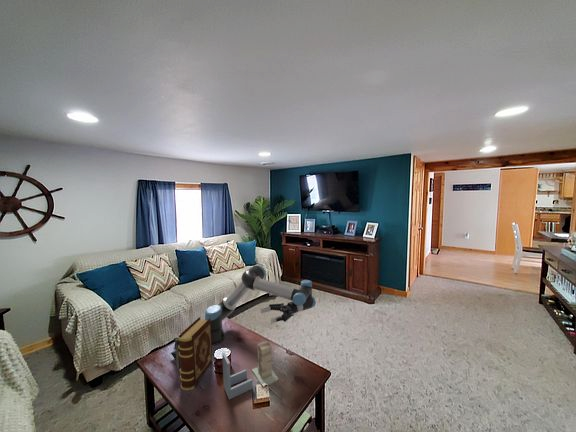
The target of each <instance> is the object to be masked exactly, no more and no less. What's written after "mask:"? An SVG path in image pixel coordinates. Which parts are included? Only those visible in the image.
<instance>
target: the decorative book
mask: <svg viewBox="0 0 576 432" xmlns="http://www.w3.org/2000/svg"><path fill="white" fill-rule="evenodd" d="M177 338H178V340H179V346H178V348H179V350H180V352H179V356H180V367H181V368H180V369H179V372H180V376H179V379H180V382H181V384H180V388H181V390H183V391H187V392H188V391H192V390H194V389H195V387H196V386H197V385H198V383H199V381H200V380H201V379H202V377H204V375H205V374H206V372H207V370H208V369H209V368H210V366H212V363H213V348H212V347H213V345H212V340H211V321H210V318H209V319H208V320H205V319H201V316H199V317H198V318H197V319H195V320H194V321H193V322H192V323H191V324H190V325H189V326H188V327H187V328H185V330H183V332H181V333H180V334H179V335H177Z"/></svg>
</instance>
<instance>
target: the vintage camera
mask: <svg viewBox="0 0 576 432" xmlns="http://www.w3.org/2000/svg"><path fill="white" fill-rule="evenodd" d="M173 342H174V346H173V347H174V349H175V351H172V352H170V355H171V356H172V357H173V359H174V360H175V361H176V367H177V369H178V370H180V368H181V367H180V356H179V352H180V350H179V348H178V346H179V340H178V336H177V337H174V338H173Z"/></svg>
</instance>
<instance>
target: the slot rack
mask: <svg viewBox="0 0 576 432" xmlns="http://www.w3.org/2000/svg"><path fill="white" fill-rule="evenodd" d="M221 354H222V357H221V358H222V376H223V377H222V378H223V380H222V381H223V389H224V391H225V394H226V396H227V398H228V400H231V399H233V398H236V397H238V396H240V395H242V394H244V393H246V392H249V391H250V390H253V379H252V378H250V379H247V378H248V372H247V369H243V370H240V371H239V372H236V373H234V374H231V362H230V360H229V359H228V357H227V355H226V353H225V352H222V353H221ZM246 379H247V380H246ZM244 380H245V381H244ZM242 381H243V382H242ZM237 383H238V384H237ZM235 384H236V385H235Z"/></svg>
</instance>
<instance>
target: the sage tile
mask: <svg viewBox="0 0 576 432" xmlns="http://www.w3.org/2000/svg"><path fill="white" fill-rule="evenodd" d="M251 372H252V373H253V375H254V376H255V378H256V380H257V381H258V382H259V384H260V385H261V384H263V383H266V384H268V386H270V385H272V384H274V383H276V382H278V381H279V380H280V379H279V377H278V376H277V374H276V373H275V372H274V370H272V375H271V376H269V377H267V378H265V379H262V378H261V376H260V375H259V373H258V366H257V367H254V368H252V369H251Z"/></svg>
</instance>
